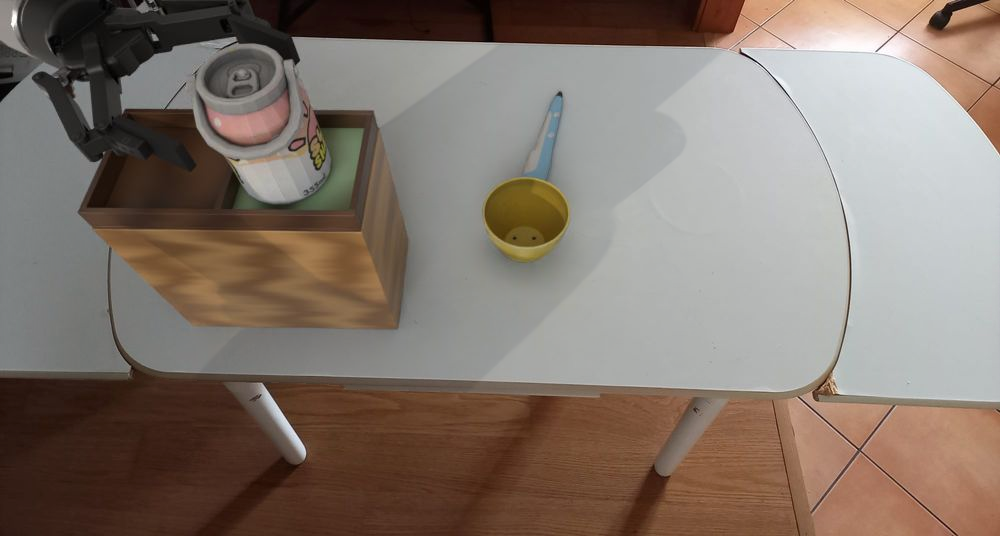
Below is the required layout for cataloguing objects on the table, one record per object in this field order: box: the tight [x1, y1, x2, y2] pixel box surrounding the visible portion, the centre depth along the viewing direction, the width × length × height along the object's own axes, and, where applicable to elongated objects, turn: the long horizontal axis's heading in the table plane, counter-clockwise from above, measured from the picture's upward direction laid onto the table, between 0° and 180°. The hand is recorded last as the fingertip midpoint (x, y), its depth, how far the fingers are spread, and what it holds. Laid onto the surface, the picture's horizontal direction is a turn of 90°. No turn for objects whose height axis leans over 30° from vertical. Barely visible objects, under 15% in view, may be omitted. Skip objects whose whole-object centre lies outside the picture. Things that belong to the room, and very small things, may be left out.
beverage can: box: [185, 43, 331, 205], centre depth 51 cm, size 9×8×12 cm
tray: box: [77, 108, 379, 232], centre depth 56 cm, size 24×12×2 cm, turn 89°
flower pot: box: [482, 176, 572, 263], centre depth 73 cm, size 10×10×7 cm
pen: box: [521, 90, 564, 181], centre depth 84 cm, size 19×3×3 cm, turn 166°
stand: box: [92, 127, 409, 330], centre depth 66 cm, size 24×12×20 cm, turn 89°
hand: (243, 101), depth 51 cm, fingers open, 13 cm apart
